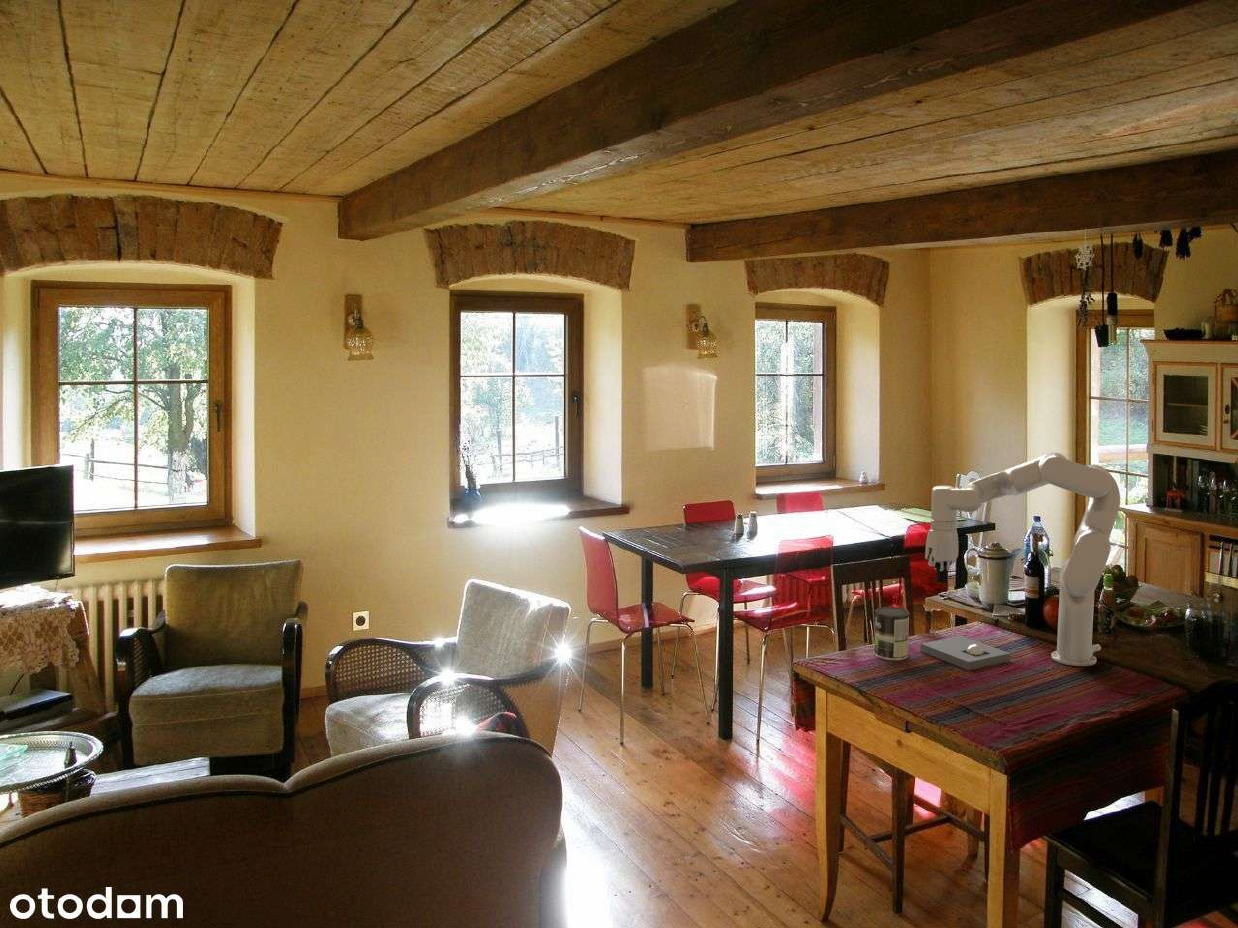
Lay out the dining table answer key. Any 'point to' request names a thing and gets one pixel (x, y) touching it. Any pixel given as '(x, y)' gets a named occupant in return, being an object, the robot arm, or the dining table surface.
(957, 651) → the hole board
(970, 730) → the dining table surface
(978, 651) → the steel ball
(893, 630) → the coffee can
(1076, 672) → the dining table surface
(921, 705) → the dining table surface
